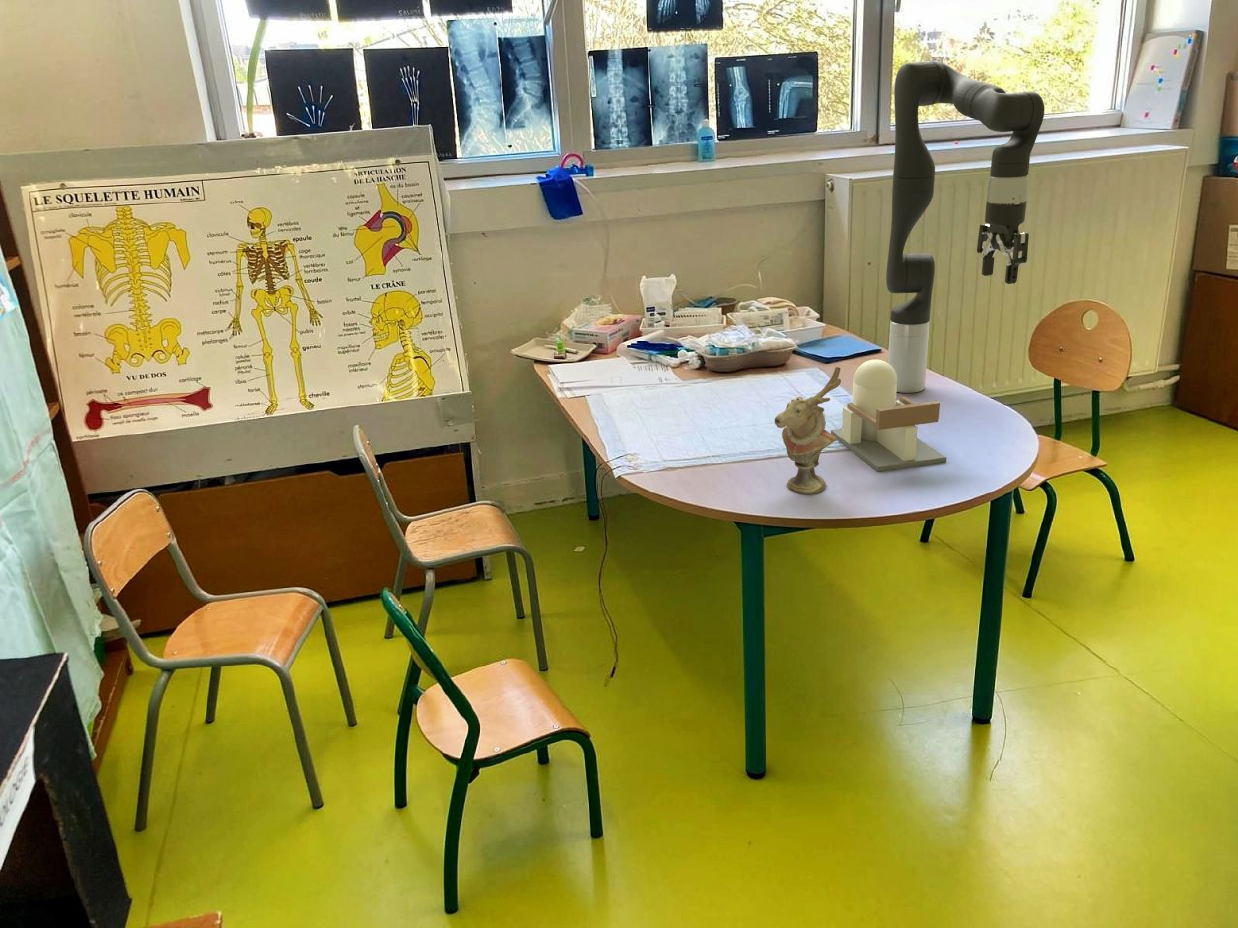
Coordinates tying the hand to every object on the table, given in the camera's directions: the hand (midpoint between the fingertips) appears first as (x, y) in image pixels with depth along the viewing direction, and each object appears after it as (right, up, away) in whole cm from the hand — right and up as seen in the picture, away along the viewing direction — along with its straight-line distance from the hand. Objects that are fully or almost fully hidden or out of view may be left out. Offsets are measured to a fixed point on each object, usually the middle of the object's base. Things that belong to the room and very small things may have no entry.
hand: (998, 279), depth 193 cm
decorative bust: (-44, -43, -12) cm, 63 cm away
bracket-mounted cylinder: (-22, -35, +4) cm, 42 cm away
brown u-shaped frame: (-22, -28, 0) cm, 36 cm away
